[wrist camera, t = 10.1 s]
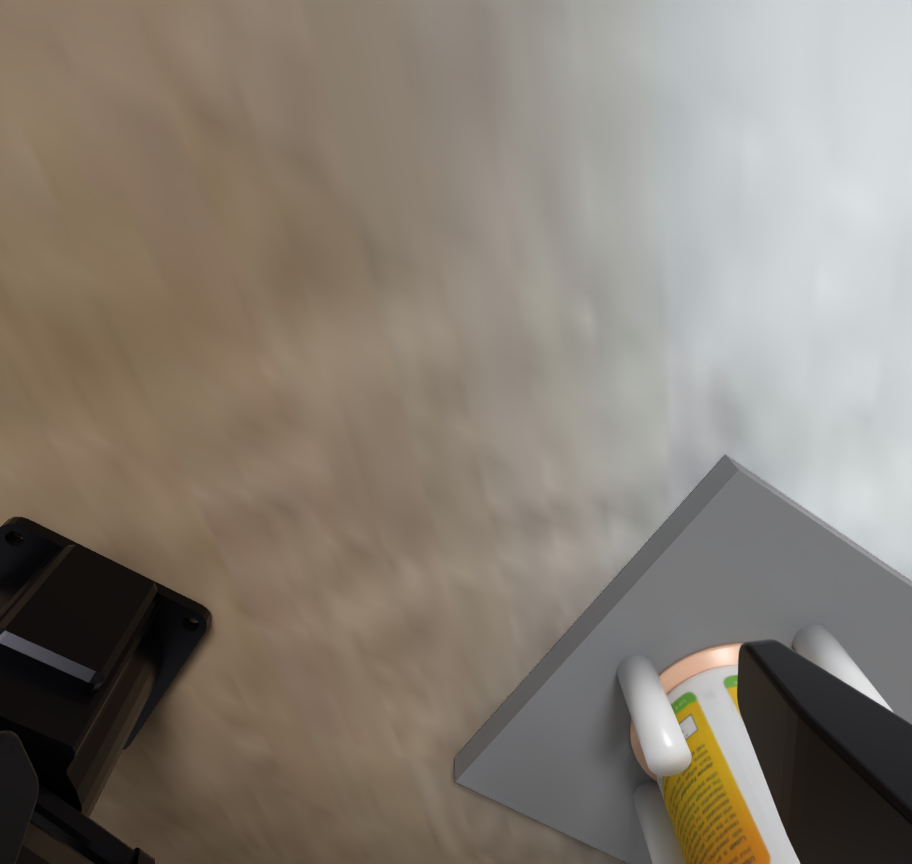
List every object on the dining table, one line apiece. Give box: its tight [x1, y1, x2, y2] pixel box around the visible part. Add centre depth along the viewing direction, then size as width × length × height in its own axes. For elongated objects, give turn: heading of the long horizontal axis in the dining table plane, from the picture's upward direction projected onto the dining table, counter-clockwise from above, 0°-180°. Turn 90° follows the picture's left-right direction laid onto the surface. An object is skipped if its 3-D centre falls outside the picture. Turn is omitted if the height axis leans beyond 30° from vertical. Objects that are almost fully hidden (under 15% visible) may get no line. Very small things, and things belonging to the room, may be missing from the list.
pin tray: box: [454, 455, 912, 864], centre depth 23 cm, size 14×12×4 cm
